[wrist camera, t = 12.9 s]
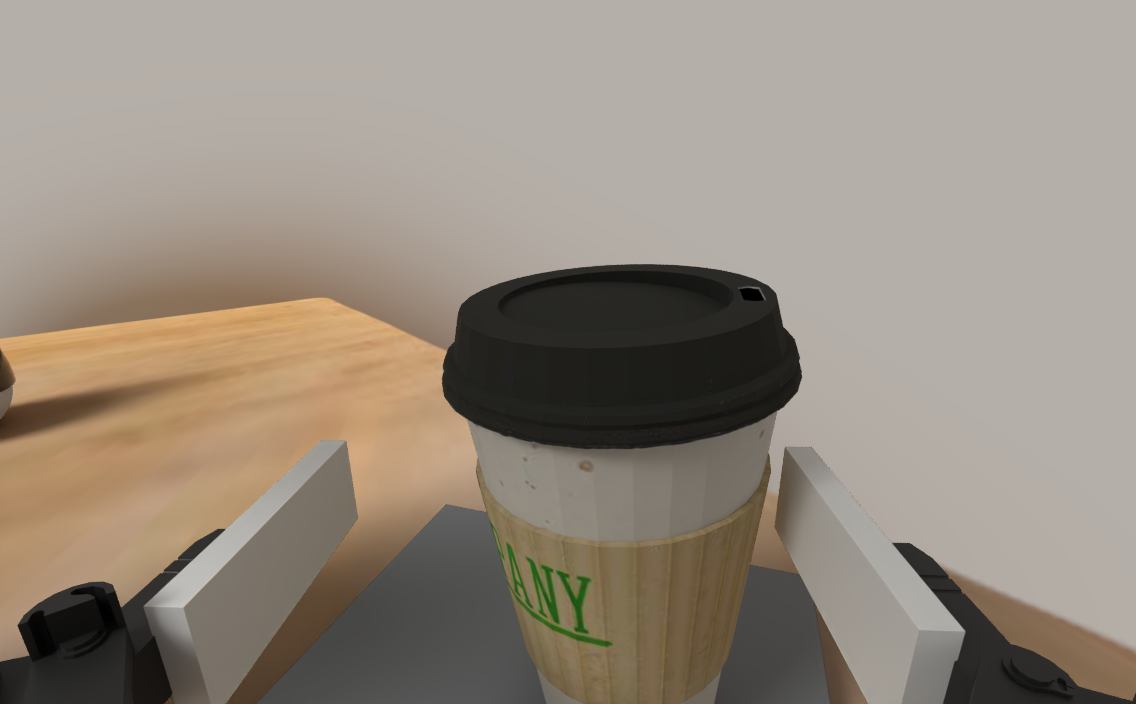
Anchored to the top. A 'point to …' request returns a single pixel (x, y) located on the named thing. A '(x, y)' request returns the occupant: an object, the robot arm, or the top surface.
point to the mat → (516, 634)
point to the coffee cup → (624, 465)
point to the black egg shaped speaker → (5, 384)
